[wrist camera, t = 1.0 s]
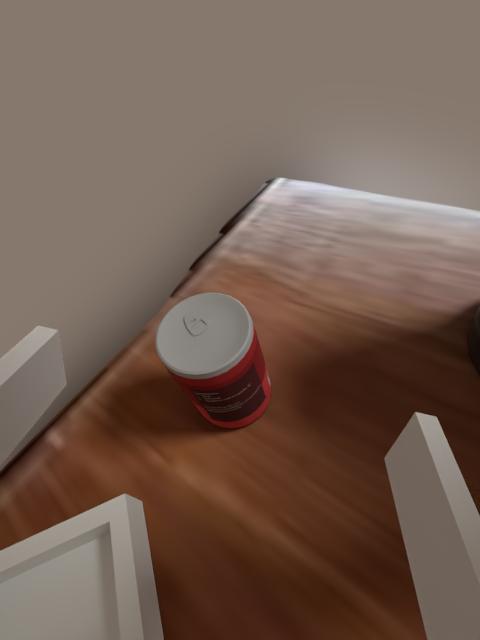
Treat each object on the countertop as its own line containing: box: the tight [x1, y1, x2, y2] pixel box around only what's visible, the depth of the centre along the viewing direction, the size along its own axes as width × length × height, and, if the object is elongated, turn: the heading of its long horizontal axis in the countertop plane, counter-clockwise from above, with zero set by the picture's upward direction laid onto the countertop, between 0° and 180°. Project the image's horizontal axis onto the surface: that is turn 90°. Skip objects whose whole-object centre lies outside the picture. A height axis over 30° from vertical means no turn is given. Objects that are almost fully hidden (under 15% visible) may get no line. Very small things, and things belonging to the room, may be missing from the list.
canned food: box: [155, 293, 272, 429], centre depth 31 cm, size 8×8×11 cm
